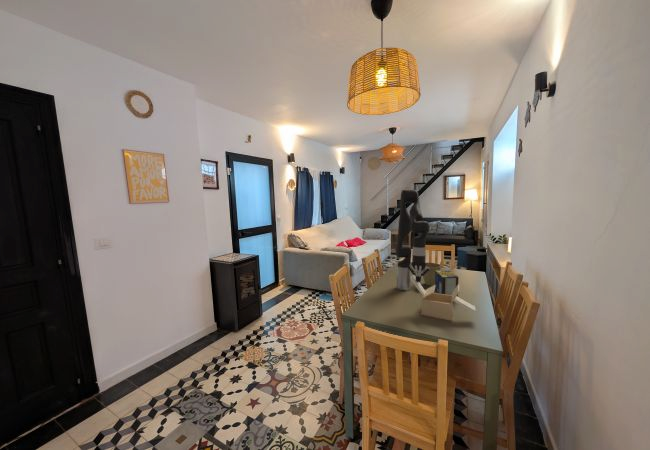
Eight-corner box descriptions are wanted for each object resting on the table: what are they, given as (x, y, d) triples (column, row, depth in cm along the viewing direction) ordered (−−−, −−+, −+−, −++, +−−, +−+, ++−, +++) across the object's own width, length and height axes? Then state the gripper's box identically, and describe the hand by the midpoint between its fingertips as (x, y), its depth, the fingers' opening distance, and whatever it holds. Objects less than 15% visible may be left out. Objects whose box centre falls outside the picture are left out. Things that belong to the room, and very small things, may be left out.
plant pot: (434, 280, 207) (435, 262, 205) (444, 287, 192) (444, 267, 190) (416, 281, 206) (417, 262, 204) (425, 288, 191) (425, 267, 190)
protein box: (449, 290, 185) (449, 270, 183) (458, 299, 169) (458, 277, 168) (434, 290, 186) (434, 270, 184) (441, 299, 170) (442, 276, 169)
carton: (421, 315, 148) (421, 299, 147) (424, 305, 160) (424, 291, 159) (451, 320, 140) (452, 304, 139) (452, 310, 152) (453, 295, 151)
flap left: (422, 298, 147) (408, 280, 149) (425, 291, 159) (412, 274, 161) (433, 292, 143) (419, 274, 146) (435, 285, 155) (422, 268, 158)
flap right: (458, 291, 137) (482, 304, 133) (458, 283, 149) (480, 295, 144) (451, 302, 140) (474, 315, 135) (451, 293, 151) (473, 305, 147)
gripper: (406, 254, 151) (406, 282, 153) (430, 256, 145) (429, 285, 147) (408, 251, 158) (408, 278, 160) (431, 253, 152) (430, 281, 154)
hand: (418, 281), depth 154 cm, fingers closed
